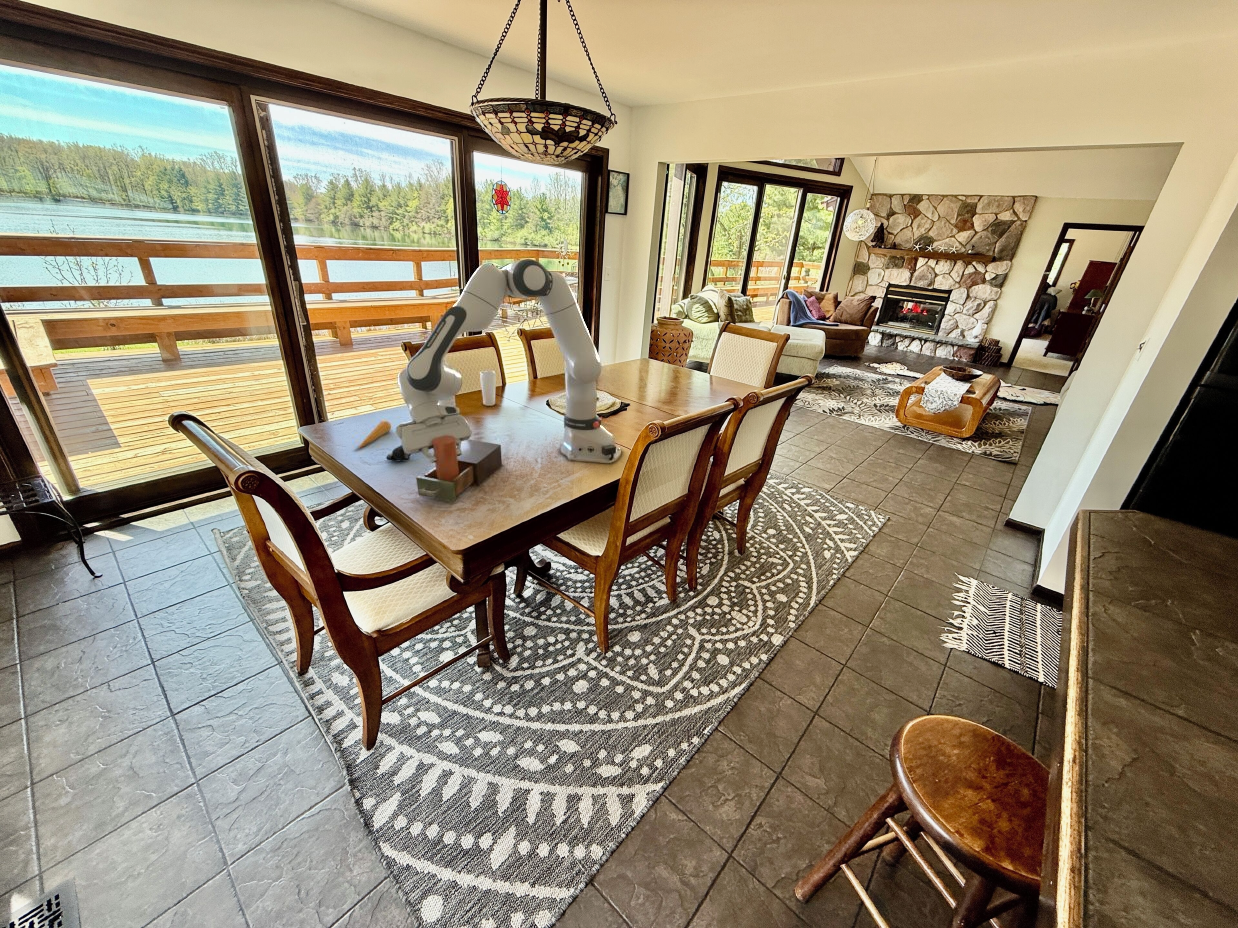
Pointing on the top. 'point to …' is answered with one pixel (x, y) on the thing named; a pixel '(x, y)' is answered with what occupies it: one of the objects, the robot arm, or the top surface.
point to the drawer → (445, 483)
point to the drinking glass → (488, 387)
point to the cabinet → (481, 458)
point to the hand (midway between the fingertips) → (447, 458)
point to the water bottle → (450, 400)
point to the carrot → (377, 432)
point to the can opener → (398, 455)
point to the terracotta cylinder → (446, 457)
